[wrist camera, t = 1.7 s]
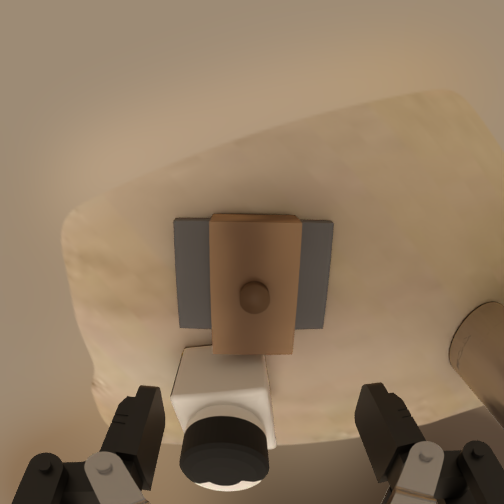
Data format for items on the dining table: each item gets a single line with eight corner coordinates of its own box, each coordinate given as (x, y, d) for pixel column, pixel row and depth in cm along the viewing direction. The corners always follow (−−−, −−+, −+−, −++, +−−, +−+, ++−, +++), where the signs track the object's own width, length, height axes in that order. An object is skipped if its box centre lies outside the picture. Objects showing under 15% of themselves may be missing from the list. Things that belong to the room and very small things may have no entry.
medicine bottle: (182, 346, 28) (155, 447, 16) (261, 337, 28) (272, 440, 16) (200, 403, 30) (187, 501, 18) (271, 396, 30) (282, 495, 18)
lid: (295, 215, 24) (305, 226, 20) (287, 334, 27) (294, 361, 23) (213, 214, 24) (207, 225, 20) (215, 334, 27) (211, 361, 23)
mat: (330, 220, 25) (333, 223, 24) (320, 323, 28) (322, 328, 27) (176, 218, 25) (173, 220, 24) (181, 322, 27) (179, 327, 26)
